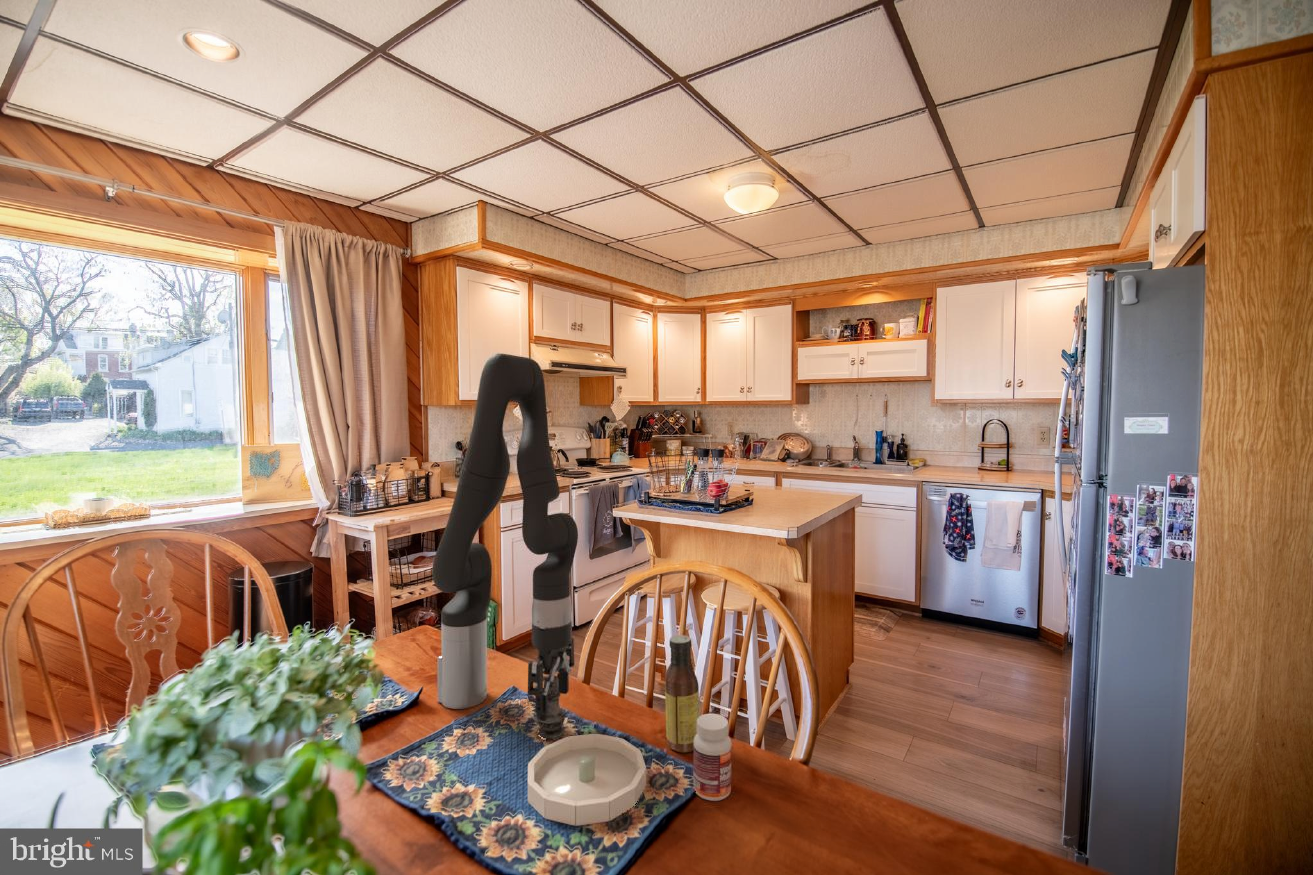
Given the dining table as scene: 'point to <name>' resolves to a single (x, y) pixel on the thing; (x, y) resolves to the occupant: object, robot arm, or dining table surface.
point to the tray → (586, 779)
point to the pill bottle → (712, 758)
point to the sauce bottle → (681, 696)
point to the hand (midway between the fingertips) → (552, 702)
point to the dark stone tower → (552, 714)
